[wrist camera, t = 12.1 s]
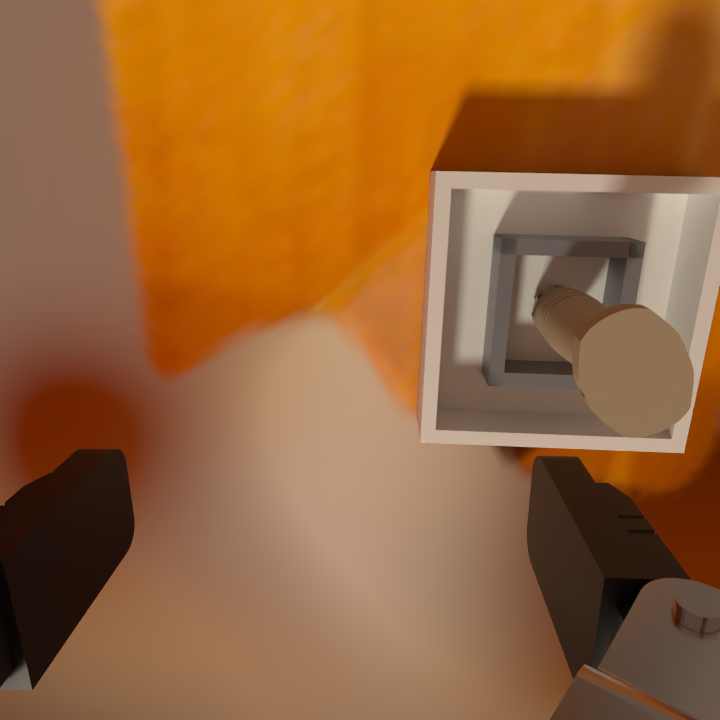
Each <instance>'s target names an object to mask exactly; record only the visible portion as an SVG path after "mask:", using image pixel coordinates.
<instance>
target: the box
mask: <svg viewBox="0 0 720 720" xmlns="http://www.w3.org/2000/svg"><path fill="white" fill-rule="evenodd" d="M551 285H562V286H563V287H567V288H572V289H576V290H579V291H581V292H584V293H586V294H588V295H590V296H591V297H593V298H595V299H596V300H598V301H599V302H601V303H602V304H603V305H604V306H605V307H606V308H609V307H612V306H616V305H620V304H639V305H643V306H645V307H647V308H649V309H651V310H652V311H653V312H654V313H656V314H657V315H658V316H660V317H661V318H662V319H663V320H665V321H666V322H667V323H668V324H670V325H671V326H672V327H673V328H674V329H675V330H676V331H677V332H678V333H679V335H680V337H681V339H682V340H683V342H684V345H685V347H686V350H687V352H688V355H689V357H690V360H691V363H692V366H693V370H694V384H693V393H692V400H691V407H690V409H689V410H688V412H687V413H686V414H685V415H684V416H683V417H682V418H681V419H680V420H679V421H678V422H677V423H675V424H674V425H672V426H671V427H669V428H667V429H665V430H663V431H661V432H659V433H656V434H653V435H650V436H645V437H640V438H629V437H623V436H622V435H620V434H619V433H617V432H616V431H615V430H613V429H612V428H611V427H609V426H608V425H607V424H605V423H604V422H603V421H602V420H601V419H600V418H599V417H598V416H597V415H596V414H595V413H594V412H593V411H592V410H591V409H590V408H589V407H588V405H587V404H586V402H585V400H584V398H583V396H582V394H581V392H580V390H579V388H578V386H577V384H576V381H575V379H574V375H573V368H572V364H571V363H570V362H569V361H567V360H566V359H565V358H563V357H562V356H561V355H560V354H558V353H557V352H556V351H555V350H554V349H553V348H552V347H551V346H550V345H549V344H548V343H547V341H546V340H545V339H544V337H543V336H542V334H541V333H540V331H539V329H538V327H537V325H536V324H535V323H534V321H533V319H532V315H531V313H532V312H533V310H534V306H535V299H534V296H535V294H536V293H537V292H542V291H545V290H547V289H549V288H550V287H551ZM719 285H720V177H690V176H644V175H599V174H554V173H508V172H463V171H430V188H429V206H428V224H427V242H426V260H425V278H424V296H423V314H422V332H421V350H420V369H419V387H418V405H417V419H418V427H419V436H420V442H421V443H445V444H470V445H472V444H473V445H494V446H519V447H545V448H570V449H595V450H620V451H645V452H670V453H684V450H685V445H686V441H687V436H688V431H689V427H690V422H691V417H692V413H693V408H694V403H695V398H696V394H697V389H698V384H699V380H700V375H701V370H702V365H703V361H704V356H705V351H706V347H707V342H708V337H709V332H710V328H711V323H712V318H713V314H714V309H715V304H716V299H717V295H718V290H719Z"/></svg>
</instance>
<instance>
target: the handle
mask: <svg viewBox="0 0 720 720" xmlns="http://www.w3.org/2000/svg"><path fill="white" fill-rule="evenodd" d="M534 299H535V306H534V310H533V312H532V313H531V315H532V319H533V321H534V323H535V324H536V325H537V327H538V329H539V331H540V333H541V334H542V336H543V337H544V339H545V340H546V341H547V343H548V344H549V345H550V346H551V347H552V348H553V349H554V350H555V351H556V352H557V353H558V354H560V355H561V356H562V357H563V358H565V359H566V360H567V361H569V362H570V363H571V364H572V368H573V375H574V379H575V381H576V384H577V386H578V388H579V390H580V392H581V394H582V396H583V398H584V400H585V402H586V404H587V405H588V407H589V408H590V409H591V410H592V411H593V412H594V413H595V414H596V415H597V416H598V417H599V418H600V419H601V420H602V421H603V422H604V423H605V424H607V425H608V426H609V427H611V428H612V429H613V430H615V431H616V432H617V433H619V434H620V435H622V436H623V437H629V438H640V437H645V436H650V435H653V434H656V433H659V432H661V431H663V430H665V429H667V428H669V427H671V426H672V425H674V424H675V423H677V422H678V421H679V420H680V419H681V418H682V417H683V416H684V415H685V414H686V413H687V412H688V410H689V409H690V407H691V400H692V393H693V384H694V370H693V366H692V363H691V360H690V357H689V355H688V352H687V350H686V347H685V345H684V342H683V340H682V339H681V337H680V335H679V333H678V332H677V331H676V330H675V329H674V328H673V327H672V326H671V325H670V324H668V323H667V322H666V321H665V320H663V319H662V318H661V317H660V316H658V315H657V314H656V313H654V312H653V311H652V310H651V309H649V308H647V307H645V306H643V305H639V304H620V305H616V306H612V307H609V308H606V307H605V306H604V305H603V304H602V303H601V302H599V301H598V300H596V299H595V298H593V297H591V296H590V295H588V294H586V293H584V292H581V291H579V290H576V289H572V288H567V287H563V286H562V285H551V287H550V288H549V289H547V290H545V291H542V292H537V293H536V294H535V296H534Z"/></svg>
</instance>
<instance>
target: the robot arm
mask: <svg viewBox="0 0 720 720" xmlns="http://www.w3.org/2000/svg"><path fill="white" fill-rule="evenodd" d="M133 534H134V514H133V506H132V499H131V493H130V485H129V478H128V472H127V466H126V459H125V456H124V454H123V453H122V451H121V450H119V449H78V450H77V451H75V452H74V453H73V454H72V455H71V456H70V457H69V458H67V459H66V460H65V461H64V462H63V463H62V464H61V465H60V466H58V467H57V468H56V469H55V470H54V471H53V472H52V473H49V474H47V475H45V476H43V477H41V478H39V479H37V480H35V481H33V482H31V483H29V484H27V485H25V486H23V487H22V488H21V489H20V490H19V491H18V492H16V493H15V494H14V495H13V496H12V497H11V498H9V499H8V500H7V501H6V502H5V505H4V506H0V689H9V690H33V689H34V687H35V686H36V684H37V683H38V681H39V680H40V679H41V677H42V676H43V674H44V672H45V671H46V670H47V668H48V667H49V665H50V664H51V662H52V661H53V659H54V658H55V657H56V655H57V654H58V652H59V651H60V649H61V648H62V646H63V645H64V643H65V642H66V640H67V639H68V637H69V636H70V635H71V633H72V632H73V630H74V629H75V628H76V626H77V625H78V623H79V621H80V620H81V619H82V617H83V616H84V614H85V613H86V612H87V610H88V608H89V607H90V606H91V604H92V603H93V601H94V600H95V598H96V597H97V595H98V594H99V593H100V591H101V590H102V588H103V587H104V585H105V584H106V582H107V581H108V579H109V578H110V576H111V575H112V574H113V572H114V571H115V569H116V568H117V566H118V565H119V563H120V562H121V561H122V559H123V557H124V556H125V555H126V553H127V551H128V550H129V548H130V545H131V542H132V539H133ZM527 543H528V552H529V557H530V561H531V564H532V567H533V570H534V573H535V575H536V578H537V581H538V584H539V586H540V589H541V592H542V595H543V597H544V600H545V603H546V605H547V608H548V611H549V614H550V616H551V619H552V622H553V624H554V627H555V630H556V633H557V636H558V638H559V641H560V644H561V646H562V649H563V652H564V655H565V658H566V660H567V663H568V666H569V669H570V671H571V674H572V677H573V681H572V683H571V685H570V686H569V688H568V690H567V692H566V693H565V695H564V697H563V698H562V700H561V702H560V703H559V705H558V707H557V709H556V710H555V712H554V714H553V715H552V717H551V719H550V720H720V590H718V589H715V588H713V587H711V586H708V585H705V584H702V583H699V582H695V581H692V580H691V579H690V578H689V576H688V575H687V574H686V572H685V571H684V570H683V568H682V567H681V566H680V564H679V563H678V562H677V560H676V559H675V557H674V556H673V555H672V553H671V552H670V551H669V549H668V548H667V547H666V545H665V544H664V543H663V541H662V540H661V539H660V537H659V536H658V535H657V534H655V532H654V529H653V528H652V527H651V525H650V524H649V522H648V521H647V520H646V519H644V516H643V514H642V513H641V512H640V510H639V509H638V508H637V506H636V505H635V503H634V502H633V501H632V499H631V498H630V497H628V496H627V495H625V494H624V493H622V492H621V491H619V490H618V489H616V488H615V487H613V486H612V485H610V484H609V483H595V481H594V480H593V478H592V477H591V475H590V474H589V472H588V471H587V469H586V468H585V466H584V465H583V463H582V462H581V460H580V459H579V458H578V457H567V456H537V457H536V458H535V460H534V464H533V470H532V481H531V492H530V503H529V513H528V525H527Z"/></svg>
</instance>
